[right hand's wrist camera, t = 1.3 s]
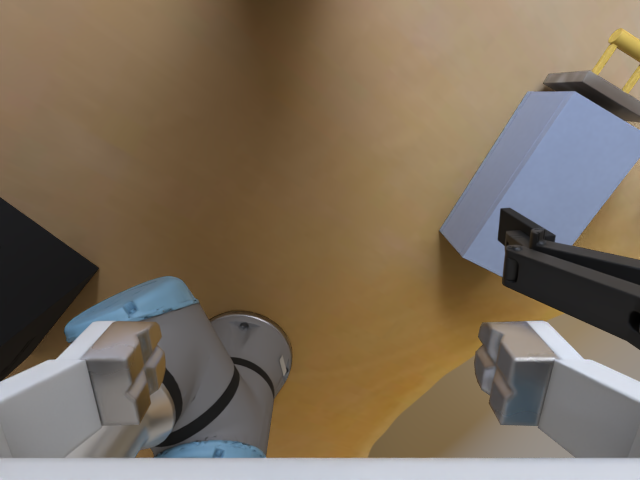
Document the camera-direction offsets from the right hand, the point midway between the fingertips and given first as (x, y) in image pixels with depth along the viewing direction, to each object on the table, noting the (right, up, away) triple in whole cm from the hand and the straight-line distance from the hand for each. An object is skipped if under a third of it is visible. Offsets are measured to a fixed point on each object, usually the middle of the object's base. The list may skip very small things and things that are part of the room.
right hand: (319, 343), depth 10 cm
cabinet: (+26, +10, +42) cm, 51 cm away
